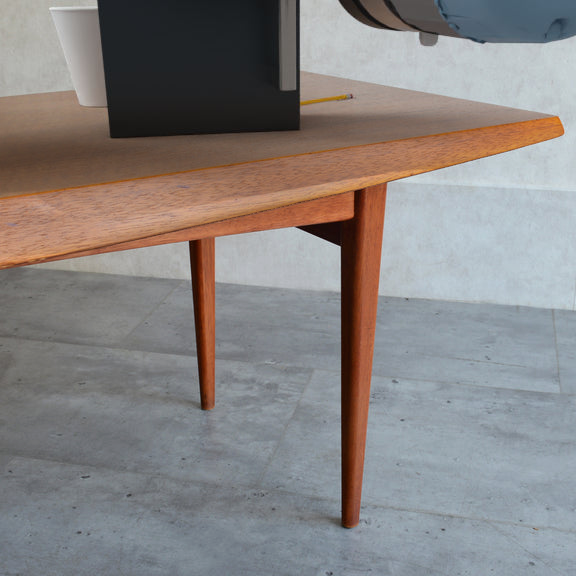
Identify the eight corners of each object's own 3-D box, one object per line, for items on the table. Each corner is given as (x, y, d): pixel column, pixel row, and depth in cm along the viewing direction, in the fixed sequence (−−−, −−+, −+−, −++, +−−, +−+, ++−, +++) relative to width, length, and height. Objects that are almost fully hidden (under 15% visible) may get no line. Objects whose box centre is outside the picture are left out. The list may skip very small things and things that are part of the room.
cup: (68, 98, 106) (58, 6, 101) (152, 96, 107) (145, 5, 102) (52, 110, 95) (39, 7, 90) (145, 108, 96) (137, 6, 91)
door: (313, 139, 74) (314, -79, 67) (109, 149, 70) (87, -82, 63) (298, 128, 80) (297, -73, 73) (110, 136, 76) (90, -75, 69)
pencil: (353, 99, 105) (353, 94, 104) (289, 109, 96) (289, 104, 95) (348, 98, 105) (349, 93, 105) (285, 109, 96) (285, 103, 96)
